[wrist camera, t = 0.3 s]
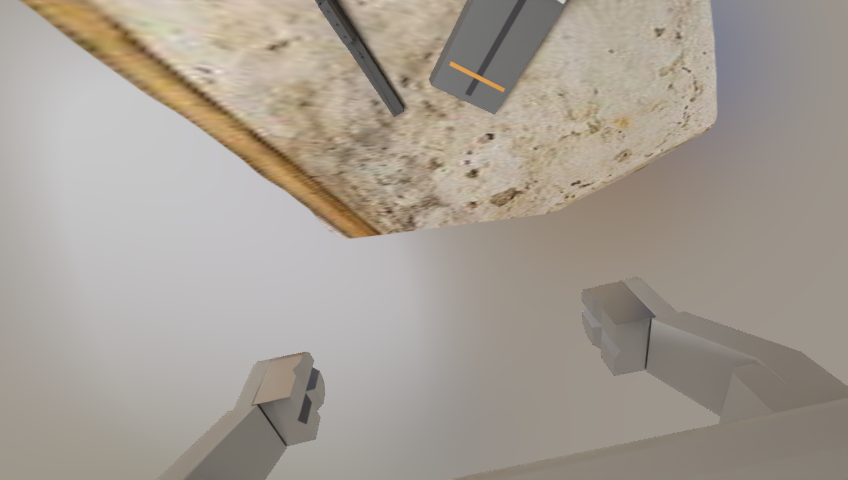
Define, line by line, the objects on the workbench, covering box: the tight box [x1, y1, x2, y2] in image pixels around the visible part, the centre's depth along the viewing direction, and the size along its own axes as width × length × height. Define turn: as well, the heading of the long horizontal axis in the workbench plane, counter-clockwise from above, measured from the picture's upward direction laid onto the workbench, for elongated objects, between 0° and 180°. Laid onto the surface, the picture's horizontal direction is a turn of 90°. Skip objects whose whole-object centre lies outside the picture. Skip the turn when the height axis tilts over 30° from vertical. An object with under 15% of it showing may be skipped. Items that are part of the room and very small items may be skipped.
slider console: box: [429, 0, 568, 114], centre depth 51 cm, size 22×12×3 cm, turn 153°
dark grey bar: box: [315, 0, 404, 117], centre depth 51 cm, size 19×3×4 cm, turn 29°
